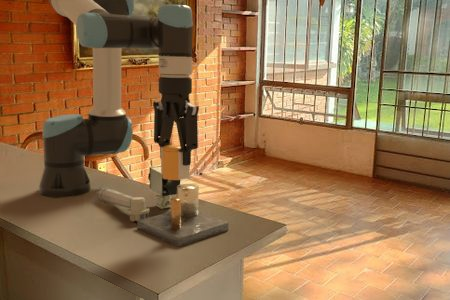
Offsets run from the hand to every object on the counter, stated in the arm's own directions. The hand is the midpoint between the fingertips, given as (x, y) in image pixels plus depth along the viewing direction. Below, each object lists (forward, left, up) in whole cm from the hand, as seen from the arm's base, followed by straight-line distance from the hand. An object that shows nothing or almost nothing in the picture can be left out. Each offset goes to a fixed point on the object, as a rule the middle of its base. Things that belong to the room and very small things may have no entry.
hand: (175, 175), depth 115 cm
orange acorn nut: (0, 0, 0) cm, 0 cm away
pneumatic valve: (-19, +12, -15) cm, 27 cm away
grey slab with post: (-2, +4, -15) cm, 16 cm away
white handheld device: (-25, +2, -15) cm, 29 cm away
